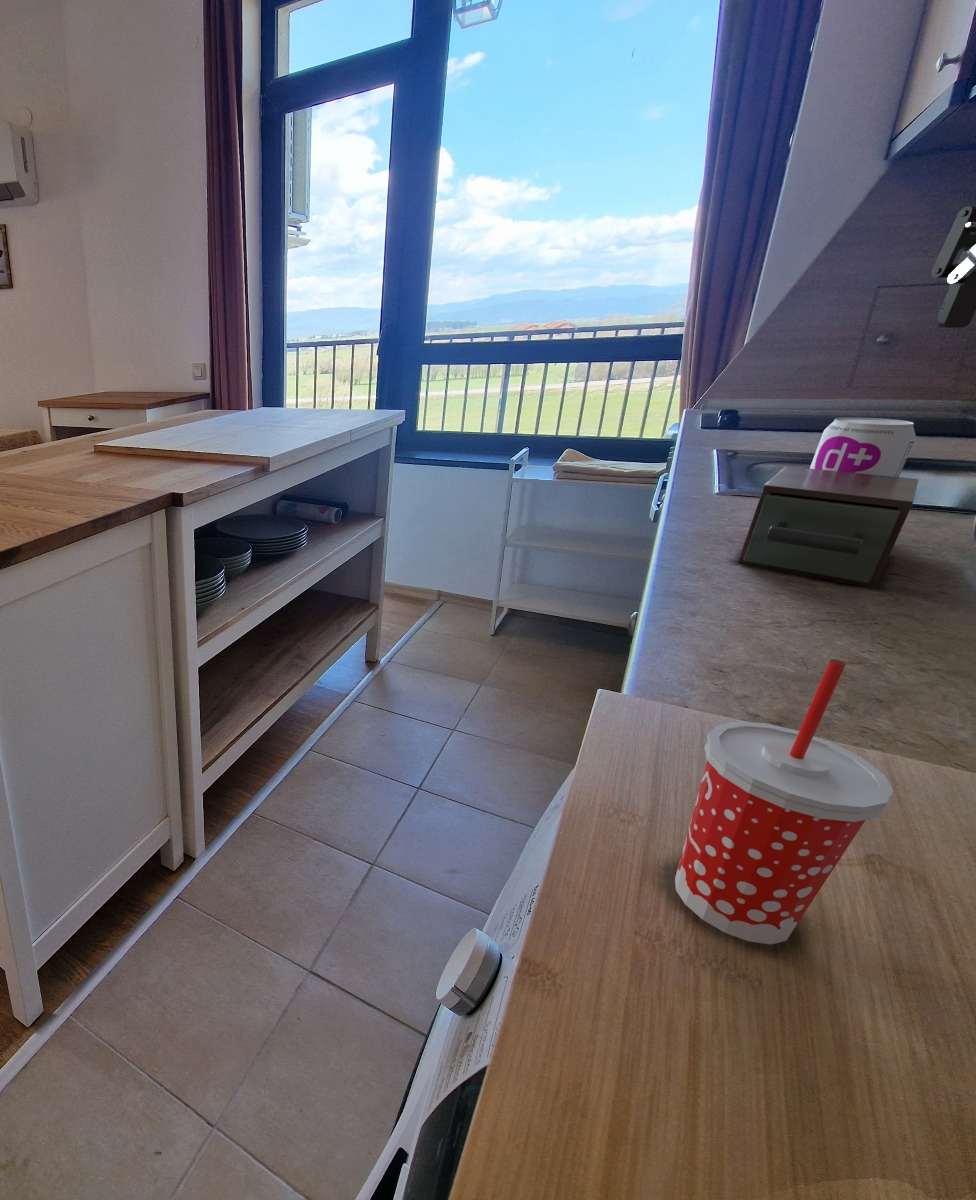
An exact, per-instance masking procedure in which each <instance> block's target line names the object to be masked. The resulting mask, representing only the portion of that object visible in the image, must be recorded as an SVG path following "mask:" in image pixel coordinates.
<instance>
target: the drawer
mask: <svg viewBox="0 0 976 1200" xmlns="http://www.w3.org/2000/svg"><path fill="white" fill-rule="evenodd" d="M899 514H900V510H893V509H891V507H887V506H878V505H870V504H862V503H853V502H845V501H836V500H828V499H820V498H811V497H803V496H794V495H786V494H778V495H769V494H768V495H767V496H766V497H765V500H764V503H763V506H762V509H761V511H760V514H759V517H758V520H757V523H756V526H755V529H754V531H753V534H752V537H751V540H750V543H749V546H748V549H747V551H746V554H745V557H744V561H748V562H754V563H759V564H765V565H771V566H776V567H782V568H787V569H793V570H798V571H804V572H809V573H815V574H820V575H826V576H831V577H837V578H842V579H848V580H853V581H859V582H865V583H869V582H870V580H871V578H872V575H873V573H874V571H875V569H876V566H877V564H878V562H879V559H880V557H881V555H882V553H883V550H884V548H885V546H886V544H887V541H888V539H889V537H890V534H891V532H892V530H893V528H894V525H895V523H896V521H897V519H898V516H899Z"/></svg>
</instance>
